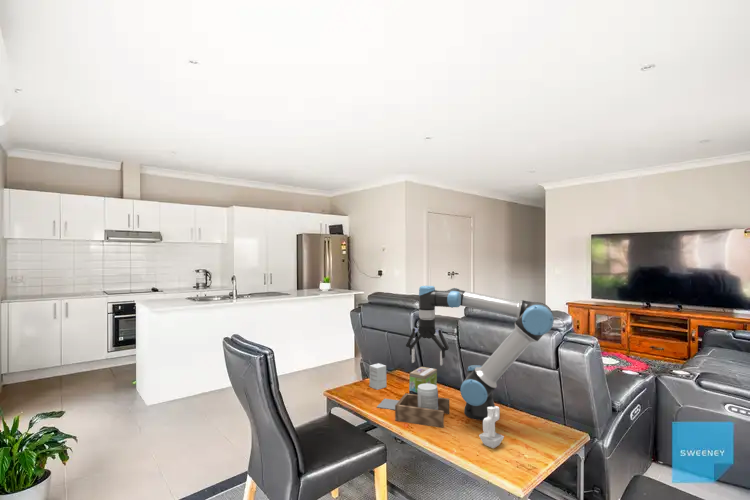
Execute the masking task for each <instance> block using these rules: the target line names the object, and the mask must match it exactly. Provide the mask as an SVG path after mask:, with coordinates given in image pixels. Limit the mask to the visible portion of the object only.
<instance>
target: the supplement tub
mask: <svg viewBox="0 0 750 500" xmlns="http://www.w3.org/2000/svg"><path fill="white" fill-rule="evenodd" d="M417 390H418V407H420V408H427V409H434V410H438V397H439V391H438V385H437V386H436V385H434V384H428V383H426V384H420V385H418V389H417Z"/></svg>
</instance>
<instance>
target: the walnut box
mask: <svg viewBox="0 0 750 500" xmlns="http://www.w3.org/2000/svg"><path fill="white" fill-rule="evenodd" d="M398 400H399V401H398V403H397V404H396V405H395V410H394V415H395V416H394V419H395V421H396V422H403V423H408V424H415V425H423V426H429V427H434V428H435V427H436V428H440V429H443V428H444V426H445V425H444V415H450V412H451V411H450V409H451V407H450V398H447V397H439V396H438V410H434V409H427V408H420V407H418V395H416V394H409V393H404V394H403V395H402V397H400V399H398Z"/></svg>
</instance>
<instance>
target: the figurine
mask: <svg viewBox="0 0 750 500" xmlns="http://www.w3.org/2000/svg"><path fill="white" fill-rule="evenodd" d="M487 411H488V416H487V417H486V418H484V419H483V421H482V431H483V432H482V433H479V434H478V437H479V438H480V440H481V441H482V444H483V445H484V446H487V447H489V448H491V449H495V448H497V447H498V446H500V445H501V443H502V442H503V440H504V437H505V436H504V435H502V434H501V433H497V432H496V422H497V421H499V420H500V411H501V410H500V407H499V406H497V405H495V407H487Z"/></svg>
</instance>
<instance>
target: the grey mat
mask: <svg viewBox="0 0 750 500" xmlns="http://www.w3.org/2000/svg"><path fill="white" fill-rule="evenodd" d="M399 400H400V399H391V398H384V399H382V400H381V402H380V403H379V404H378V405H377V406H376V408H377V409H384V410H385V409H386V410H389V411H390V410H391V411H395V405H396V404H397V403H398V401H399Z"/></svg>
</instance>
